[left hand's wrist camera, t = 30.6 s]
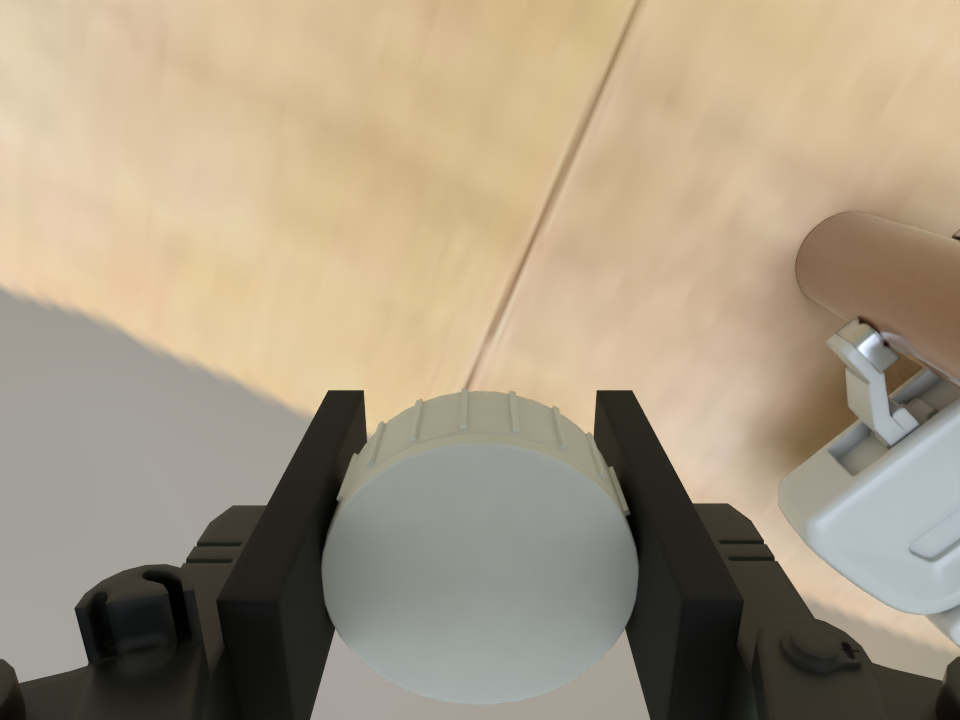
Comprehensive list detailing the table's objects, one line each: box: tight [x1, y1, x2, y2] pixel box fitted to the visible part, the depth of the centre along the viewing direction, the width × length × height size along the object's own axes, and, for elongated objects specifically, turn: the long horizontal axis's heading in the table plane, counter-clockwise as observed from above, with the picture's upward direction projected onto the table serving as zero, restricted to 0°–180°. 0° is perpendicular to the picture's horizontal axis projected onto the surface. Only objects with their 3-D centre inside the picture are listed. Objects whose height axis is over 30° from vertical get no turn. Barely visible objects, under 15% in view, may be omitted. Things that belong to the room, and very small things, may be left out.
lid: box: [321, 389, 639, 705], centre depth 11 cm, size 5×5×2 cm
